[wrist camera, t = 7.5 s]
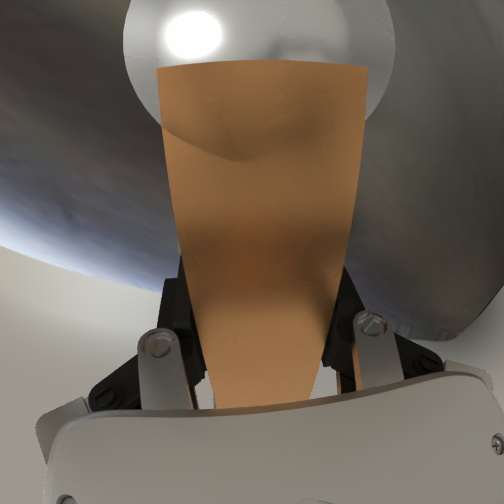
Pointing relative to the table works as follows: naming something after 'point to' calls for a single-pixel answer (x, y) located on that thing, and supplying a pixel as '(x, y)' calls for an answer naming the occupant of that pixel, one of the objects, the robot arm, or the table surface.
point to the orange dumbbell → (261, 169)
